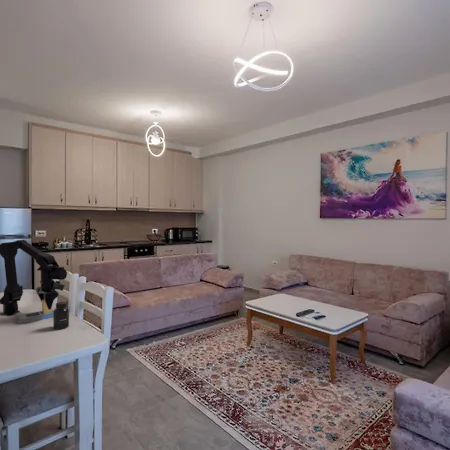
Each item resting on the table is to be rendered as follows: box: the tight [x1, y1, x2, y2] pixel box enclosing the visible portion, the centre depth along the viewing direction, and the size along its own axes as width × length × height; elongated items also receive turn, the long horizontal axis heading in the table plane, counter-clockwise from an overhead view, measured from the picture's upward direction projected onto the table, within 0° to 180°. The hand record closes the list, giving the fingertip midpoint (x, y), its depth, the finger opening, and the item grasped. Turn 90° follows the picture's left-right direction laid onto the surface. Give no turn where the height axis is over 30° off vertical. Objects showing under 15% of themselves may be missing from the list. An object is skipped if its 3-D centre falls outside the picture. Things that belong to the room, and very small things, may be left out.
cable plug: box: [41, 300, 53, 314], centre depth 168 cm, size 4×4×9 cm
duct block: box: [16, 307, 56, 325], centre depth 166 cm, size 19×8×2 cm, turn 135°
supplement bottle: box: [52, 301, 70, 330], centre depth 152 cm, size 7×7×12 cm
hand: (47, 307), depth 168 cm, fingers open, 9 cm apart
